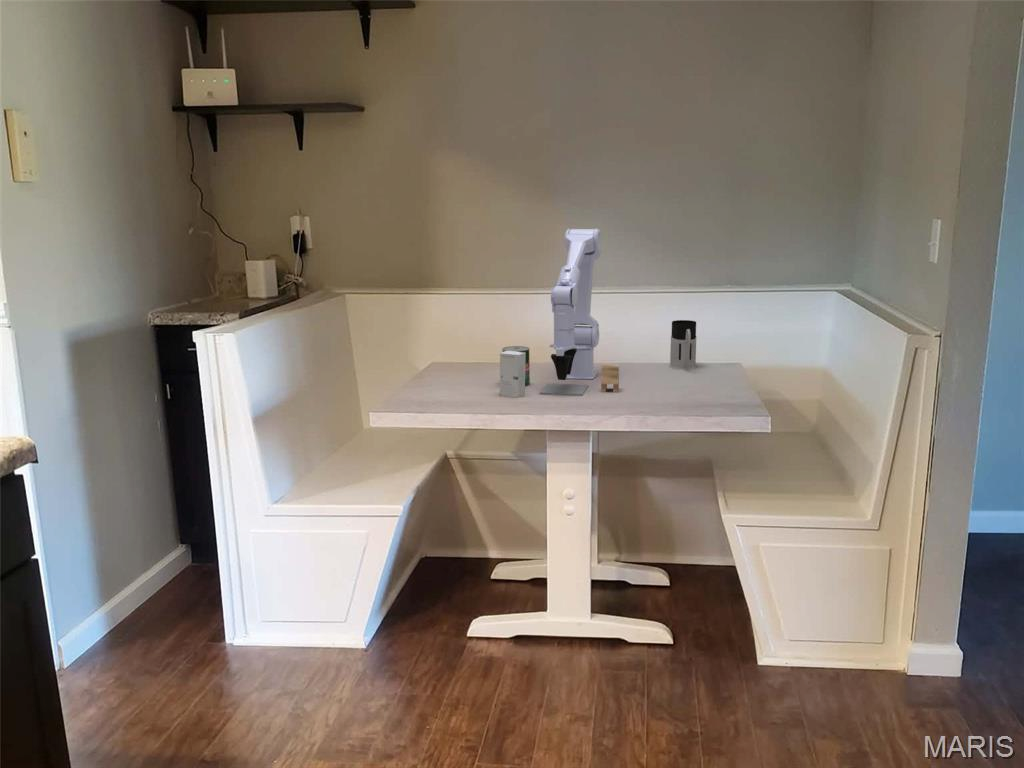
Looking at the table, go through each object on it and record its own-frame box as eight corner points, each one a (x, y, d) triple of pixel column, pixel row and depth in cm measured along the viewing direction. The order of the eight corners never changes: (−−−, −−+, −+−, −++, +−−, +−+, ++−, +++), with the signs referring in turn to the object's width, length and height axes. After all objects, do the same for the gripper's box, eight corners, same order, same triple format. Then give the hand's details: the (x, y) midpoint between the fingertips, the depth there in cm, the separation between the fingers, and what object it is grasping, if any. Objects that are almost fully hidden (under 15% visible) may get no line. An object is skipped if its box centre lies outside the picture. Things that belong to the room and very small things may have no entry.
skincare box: (499, 396, 235) (498, 352, 233) (507, 392, 239) (506, 350, 236) (518, 398, 232) (518, 354, 230) (526, 394, 236) (526, 351, 233)
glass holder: (694, 366, 273) (695, 319, 270) (702, 375, 259) (704, 326, 256) (666, 366, 273) (667, 320, 270) (673, 375, 260) (675, 326, 256)
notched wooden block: (602, 389, 242) (602, 364, 240) (618, 389, 241) (618, 365, 239) (601, 392, 237) (601, 367, 236) (617, 393, 237) (617, 368, 235)
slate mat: (547, 385, 247) (547, 383, 247) (588, 387, 245) (588, 385, 244) (539, 394, 236) (539, 392, 236) (582, 396, 233) (582, 394, 233)
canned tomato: (527, 388, 244) (526, 350, 241) (500, 388, 245) (499, 350, 243) (532, 383, 251) (531, 346, 249) (505, 382, 253) (505, 345, 251)
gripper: (554, 325, 244) (554, 371, 247) (545, 332, 231) (545, 381, 233) (579, 325, 243) (578, 372, 246) (570, 333, 229) (570, 382, 232)
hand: (564, 376), depth 239 cm, fingers open, 7 cm apart
